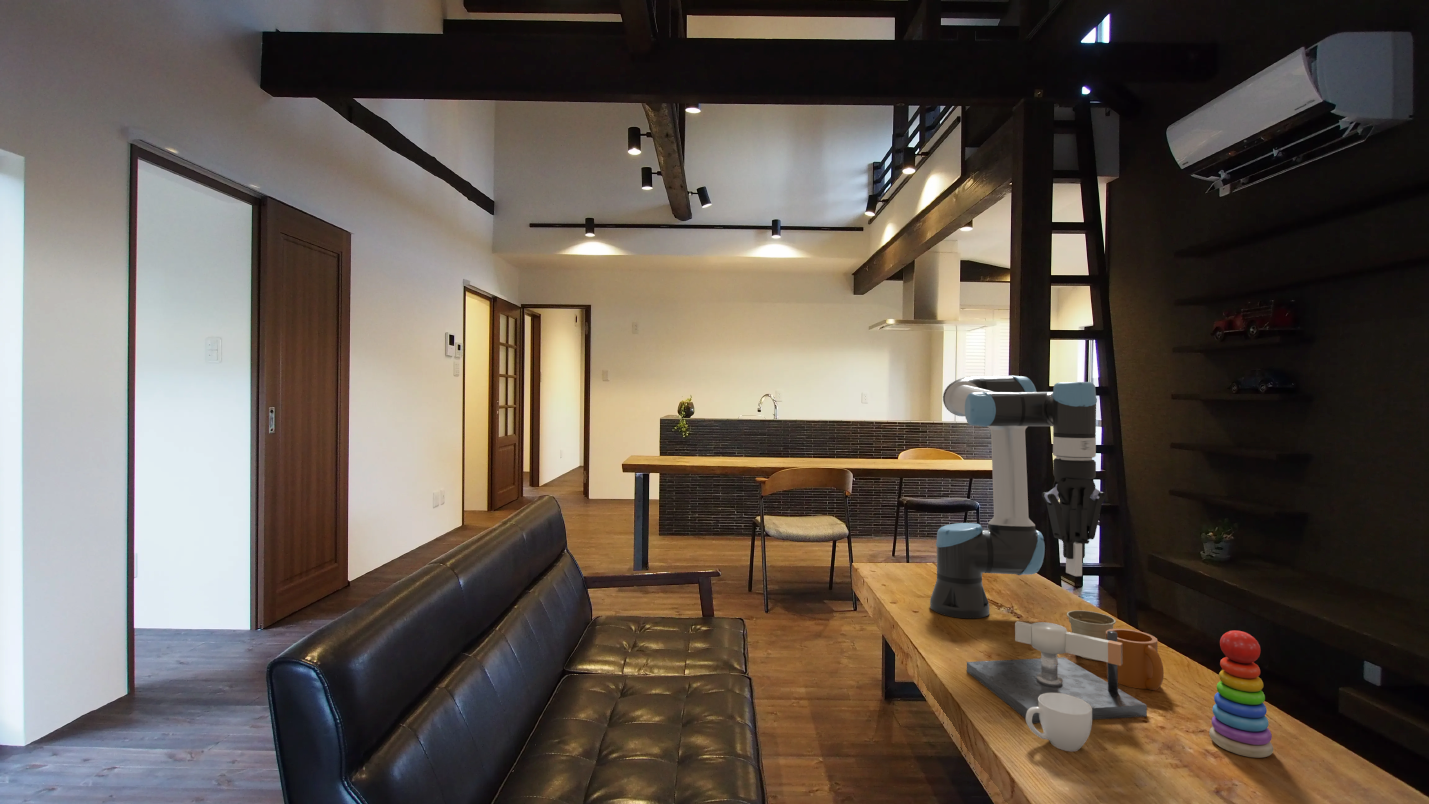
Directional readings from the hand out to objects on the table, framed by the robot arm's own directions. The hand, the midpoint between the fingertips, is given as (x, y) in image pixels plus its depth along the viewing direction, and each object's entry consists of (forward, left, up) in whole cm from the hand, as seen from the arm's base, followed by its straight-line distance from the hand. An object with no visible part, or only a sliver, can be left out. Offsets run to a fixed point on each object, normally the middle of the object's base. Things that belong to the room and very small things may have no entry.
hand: (1073, 574), depth 127 cm
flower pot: (-12, +13, -22) cm, 28 cm away
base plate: (+4, -8, -21) cm, 23 cm away
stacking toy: (+26, +10, -22) cm, 35 cm away
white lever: (+7, -6, -13) cm, 16 cm away
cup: (+22, -19, -22) cm, 37 cm away
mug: (+2, +12, -22) cm, 25 cm away
